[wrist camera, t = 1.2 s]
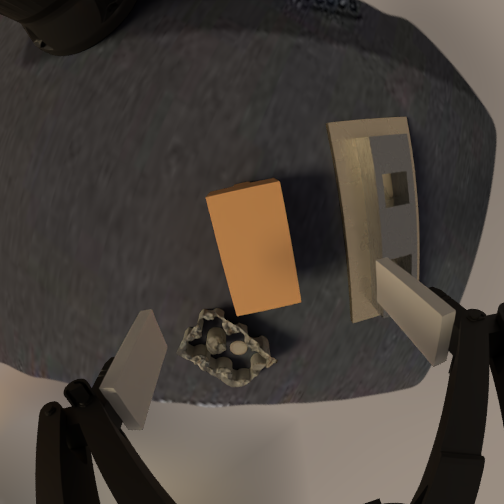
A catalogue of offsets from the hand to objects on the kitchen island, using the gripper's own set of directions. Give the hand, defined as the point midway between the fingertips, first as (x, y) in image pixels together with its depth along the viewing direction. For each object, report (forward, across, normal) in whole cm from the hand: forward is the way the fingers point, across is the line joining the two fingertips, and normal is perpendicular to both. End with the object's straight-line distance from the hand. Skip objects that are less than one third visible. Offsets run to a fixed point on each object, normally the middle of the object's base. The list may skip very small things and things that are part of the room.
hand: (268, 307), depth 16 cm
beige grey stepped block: (+16, +15, -2) cm, 22 cm away
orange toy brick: (+16, 0, 0) cm, 16 cm away
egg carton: (+17, -6, -13) cm, 22 cm away
